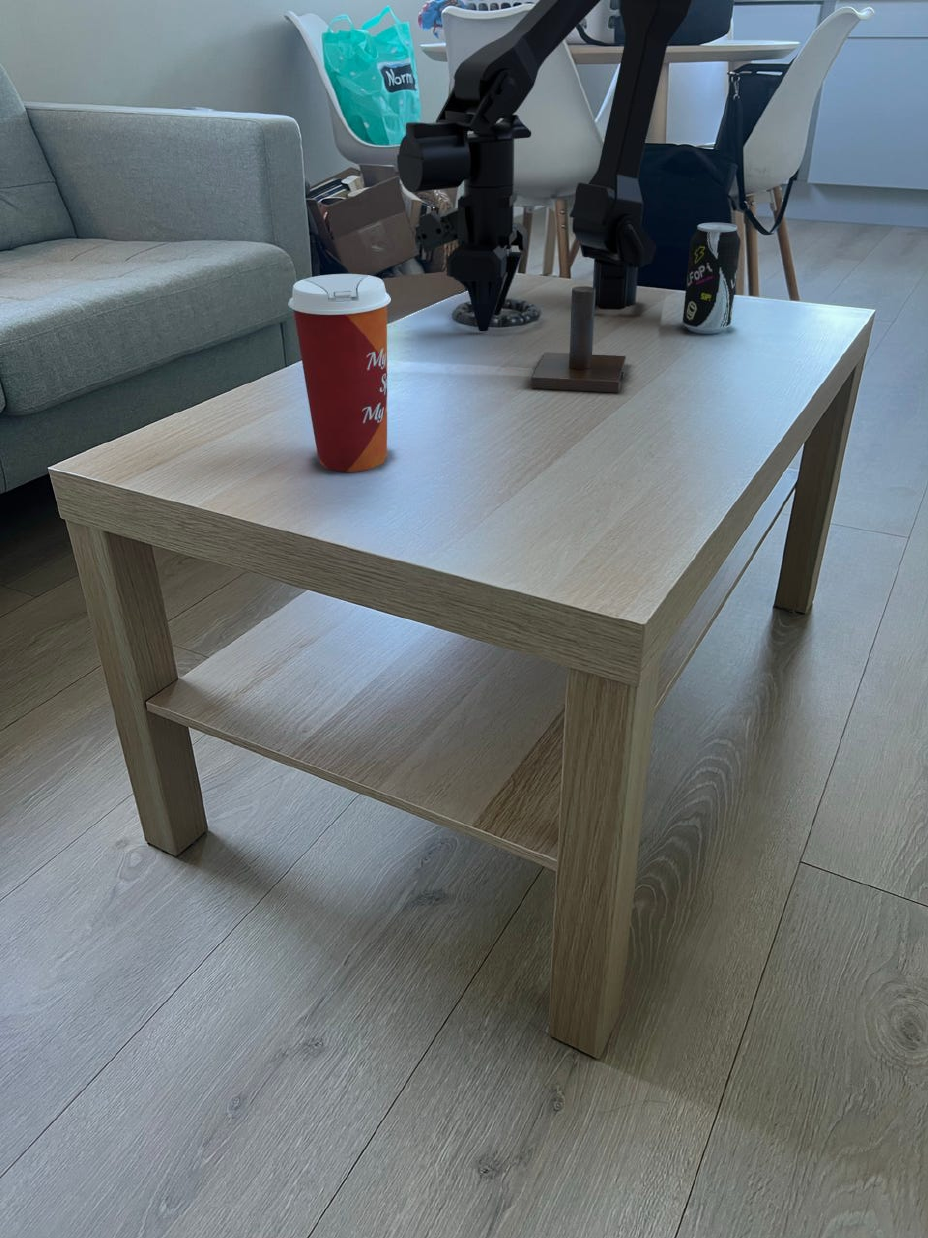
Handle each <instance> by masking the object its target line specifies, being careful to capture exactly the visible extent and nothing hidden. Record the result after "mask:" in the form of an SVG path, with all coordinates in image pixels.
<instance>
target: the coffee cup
mask: <svg viewBox="0 0 928 1238" xmlns="http://www.w3.org/2000/svg"><path fill="white" fill-rule="evenodd" d="M391 300H392V299H391V296H390V294H389V293H387V290H386V286H385V282H384V281H383V280H382V279H381V278H380V277H377V276H375V275H368V274H358V273H334V274H333V273H332V274H323V275H322V274H321V275H316V276H311V277H307V278H304V279H300V280H298V281H296V282H295V283H294V284H293V286H292V297H290V298H289V300H288V307H289V308H290V309H291V310H293V313H294V314H293V315H294V321H295V327H296V333H297V339H298V345H299V351H300V358H301V362H302V370H303V374H304V377H303V378H304V382H305V387H306V395H307V401H308V405H309V413H310V418H311V424H312V430H313V436H314V443H315V447H316V453H317V458H318V461H319V463H320V465H321V466H322V467H323V468H325V469H326V470H330V471H334V472H340V473H341V472H343V473H356V472H363V471H369V470H373V469H375V468H378V467H380V466H381V465H382V464H384V463H385V462H386V460H387V453H388V305H389V304H390V303H391Z"/></svg>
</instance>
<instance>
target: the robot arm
mask: <svg viewBox="0 0 928 1238" xmlns="http://www.w3.org/2000/svg"><path fill="white" fill-rule="evenodd" d="M601 1H602V0H538V2H536V4H534V6H533V7H532V8H531V9H530V10H529V11H528V12H527V13H526V15H524V16H523V17H522V19H521V20H520V21H518V23H517V24H515V26H514V27H513V28H512V29H511V30H510V31H508V32H507V33H505V34H504V35H502V36H501V37H499V38H496V39H495V40H493V41H491V42H489V43H487V44H485V45H484V46H482V47H481V48H479V49H478V50H476V51H475V52H474V53H472V54H471V55H470V56H468V57H467V58H466V59H464V60H462V62H460V64H459V66H458V67H457V68H456V70H455V72H454V74H453V79H454V84H453V86H452V89H451V91H450V93H449V95H448V97H447V99H446V100H445V102H444V104H443V106H442V108H441V110H440V112H439V114H438V116H437V117H436V119H435V122H419V121H408V122H406V123H405V135H404V136H403V138H402V140H401V142H400V144H399V149H398V154H397V156H396V161H397V162H396V163H397V171H398V175H399V179H400V181H401V183H402V186H403V187H404V189H406V191H408V192H409V193H420V192H421V193H422V192H430V191H438V190H448V189H449V190H450V189H456V188H459V187H460V186H462V184H463V194H462V195H460V196H459V198H458V199H457V207H455V208H452V209H450V210H447V211H444V212H442V213H440V214H438V213H437V212H436V211H435V210H432V211H430V212H428V213H426V214H422V215H421V216H418V224H416V225H415V226H414V230H415V237H414V238H415V241H416V242H417V243H421V247H422V249H423V252H424V253H425V254H427V253H430V252H433V251H434V250H435V249H437V248H438V247H441V246H443V245H446V244H450V243H452V242H454V241H456V243H457V245H458V246H457V247H456V248H454V250H453V251H452V252H451V253H450V254H449V255H448V256H447V257H446V259H445V260H446V261H445V263H446V276H447V277H450V278H453V279H454V280H455V281H458V282H459V283H460V284H461V285H462V286H463V287H464V288H465V289H466V290H467V293H468V296H469V299H470V300H469V301H471V304H472V307H473V311H474V312H473V314H474V315H475V318H476V322H477V326H478V327H477V328H478V331H479V332H488V331H489V329H490V327H489V326H490V323H491V321H492V318H493V316H500V314H501V312H502V310H503V309H502V307H503V304H504V302H505V299H506V298H507V297H508V294H509V292H510V288H511V286H512V283H513V281H514V278H515V276H516V273H517V270H518V268H519V266H520V262H521V261H522V259H523V257H524V252H523V251H524V250H525V249H526V248H527V247H528V229H526V227H525V226H524V225H523V224H522V223H521V222H515V221H514V219H515V218H514V216H515V215H514V213H515V203H516V202H517V201H518V190H515V140H518V139H529V138H531V136H532V131H531V130H530V129H529V128H528V127H527V126H526V125H525V124H524V123H523V122H522V121H521V119H520V117H519V115H518V114H515V113H517V111H518V110H519V109H520V107H521V106H522V104H523V103H524V102H525V100H526V99H527V97H528V96H529V94H530V93H531V91H532V90H533V89H534V87H535V84H536V80H537V77H538V74H539V70H540V69H541V67H542V66H543V64H544V62H545V61H546V59H547V58H549V56H550V55H551V54H552V53H553V52H554V51H555V50H557V48H558V47H559V46H560V45H561V44H562V42H563V41H565V39H567V38H568V36H569V35H570V34H571V33H572V32H573V31H574V30H575V28H577V27H578V26H579V24H580V23H581V22H582V21H583V20H584V19H585V18H586V17H587V16H588V15H589V14H590V12H591V11H593V10H594V9H595V8H596V6H597V5H598V4H599V3H600V2H601ZM619 1H620V3H619V12H620V16H621V21H622V25H623V30H624V35H625V37H624V45H623V48H622V49H623V50H622V54H621V59H620V63H619V70H618V73H617V78H616V83H615V87H614V93H613V97H612V102H611V106H610V110H609V111H610V112H609V115H608V121H607V125H606V130H605V134H604V141H603V144H602V150H601V153H600V157H599V158H600V159H599V164H598V167H597V170H596V172H595V174H594V175H593V176H592V178H591V179H590V180H589V182H588V183H586V182H578V183H577V185H576V188H575V197H574V203H573V207H572V210H571V212H570V214H569V218H572V234H574V236H575V238H576V240H577V242H578V244H579V248H580V252H581V256H582V257H583V258H588V259H592V260H593V275H592V276H593V277H592V287H593V288H595V289H596V293H595V306H597V307H598V308H599V309H601V310H616V311H617V310H618V311H619V310H620V311H622V310H623V309H626V308H627V307H632V306H634V305H635V304H636V302H637V292H638V291H637V290H638V278H639V277H638V276H639V268H642V267H644V266H645V265H650V264H652V262H653V260H654V256H655V253H656V250H657V245H656V244H655V243H654V241H653V240H652V238H651V237H650V236H649V235H648V233H647V232H646V230H645V229H644V228H643V226H642V218H643V209H644V202H643V197H642V192H641V187H640V183H639V172H640V168H641V163H642V160H643V159H642V158H643V155H644V150H645V146H646V142H647V141H646V140H647V137H648V132H649V127H650V123H651V120H652V114H653V110H654V106H655V102H656V98H657V97H656V96H657V93H658V88H659V84H660V79H661V75H662V70H663V66H664V62H665V57H666V53H667V49H668V46H669V43H670V42H671V40H672V39H673V37H674V36H675V35H676V33H677V32H678V30H679V29H680V27H681V26H682V24H683V23H684V21H686V19H687V17H688V14H689V11H690V8H691V6H692V3H693V0H619ZM500 119H501V120H500ZM498 121H499V122H498ZM469 132H472V133H469ZM513 247H518V250H519V251H513Z"/></svg>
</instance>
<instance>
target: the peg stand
mask: <svg viewBox="0 0 928 1238" xmlns="http://www.w3.org/2000/svg"><path fill="white" fill-rule="evenodd" d="M595 293H596V289H595V288H593V286H587V285H586V286H585V285H582V286H581V285H579V286H575V287H572V288H571V303H570V304H571V305H570V307H571V308H570V328H569V329H570V331H569V353H566V352H548V351H546V352H544V353H543V355H542V357H541V359H540V361H539V363H538V365H537V367H536V368H535V371H534V373H533V374H532V376H531V389H539V390H556V391H557V390H558V391H579V392H597V393H614V394H615V393H616V394H618V393H619V391H620V389H621V384H622V380H623V377H624V367H625V363H626V361H627V356H626V355H614V354H613V355H612V354H608V355H607V354H593V350H594V349H593V347H594V332H595V331H594V330H595V329H594V328H595V326H594V325H595V312H596V311H595V310H596V309H595V307H596V305H595Z"/></svg>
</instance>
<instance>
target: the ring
mask: <svg viewBox="0 0 928 1238" xmlns="http://www.w3.org/2000/svg"><path fill="white" fill-rule="evenodd" d="M502 310H510V311H511V310H512V311H517V312H520V313H516V314H510V315H493V318H492V321H491V323H490V326H489V328H493V329H494V328H496V329H497V328H498V329H499V328H500V329H501V328H509V327H520V326H524V325H528V324H531V323H534V322H537V321H538V320H539V319H540V317H541V316H542V312H541V309H540V308H539V307H538V306H536V305H535V304H533V303H532V302H530V301H528V300H527V301H526V300H522V299H516V298H509V297H508V298H507V297H506V299H505V302H504V304H503V307H502ZM451 318H452V319H453V320H454V321H455V322H457V324H462V325H467V326H469V327H470V326H471V327H476V328H478V326H477V322H476V318H475V315H474V311H473V307H472V304H471V300H469V301H466V302H461V303H460V304H459V305H457V306H456V308H454V310H453V311H452V313H451Z"/></svg>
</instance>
